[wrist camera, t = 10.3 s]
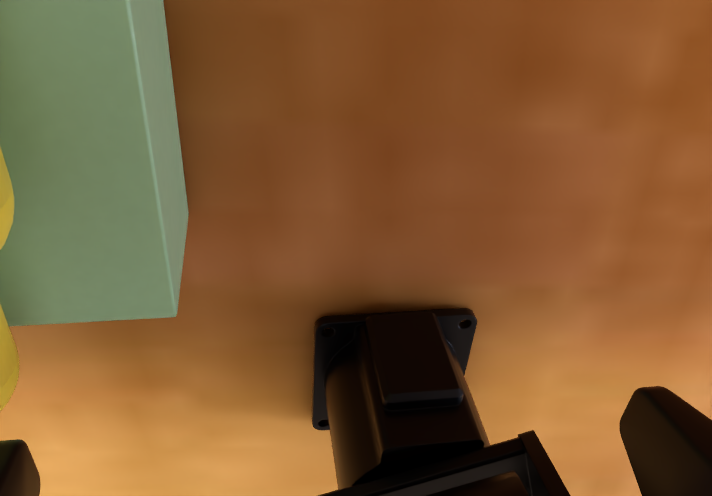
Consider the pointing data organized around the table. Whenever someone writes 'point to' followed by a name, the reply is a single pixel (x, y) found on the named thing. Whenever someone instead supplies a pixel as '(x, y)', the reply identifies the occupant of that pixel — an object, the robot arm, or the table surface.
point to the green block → (90, 162)
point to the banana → (3, 353)
